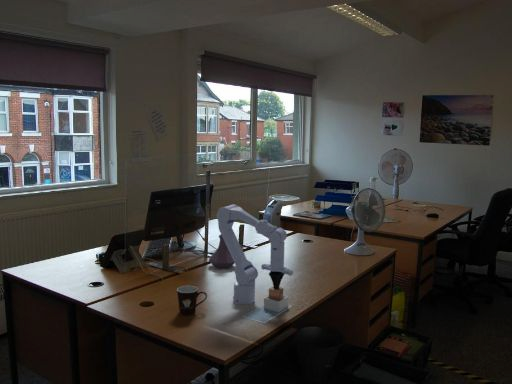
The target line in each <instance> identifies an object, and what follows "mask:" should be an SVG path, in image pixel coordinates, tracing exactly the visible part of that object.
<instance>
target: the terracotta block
mask: <svg viewBox="0 0 512 384" xmlns="http://www.w3.org/2000/svg"><path fill="white" fill-rule="evenodd" d="M283 295H284V287H280V286H279V288H278V289H274V286H271V287H270V288H268V296H269V299H272V300H276V301H280V300H282V299H283Z"/></svg>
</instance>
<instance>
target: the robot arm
mask: <svg viewBox="0 0 512 384" xmlns="http://www.w3.org/2000/svg"><path fill="white" fill-rule="evenodd" d="M215 216H216V220H217V223H218V230H219V233H220V235H222V237H223V239H224V241H225V243H226V246H227V248H228V250H229V252H230V254H231V256H232V258H233V261H234V265H235V266H234V271H233V272H234V274H235V280H236V282H234V283H233V295H232V300H233V304H235V305H239V304H240V305H250V304H253V303H255V300H256V279H257V278H258V275H259V271H258V269H257V268H256V267H255V266H254V265H253V263H252V261H250V260H248V259H247V256H246V255H245V252H244V251H243V247H242V246H241V245H240V242H239V240H238V238H237V235H236V234H235V231H234V229H233V225H234V224H235V223H234V222H236V220H237V221H238V220H240V221H242V222H244V223H245V224H247V225H250V227H251V226H252V227H253V228H254V229H255V231H256V232H257V233H258V234H260V235H262V236H264V237H265V238H266V239H268V241H269V242H270V262H269V263H270V264H266V263H263V264H261V270H266V271H270V272H268V276H269V277H270V280H271V282H272V285H273V286H274V289H278V288H279V287H280V285H281V282H282V279H283V278H284V276H285V275H288V276H290V277H291V276H293V275H294V269H290V268H288V267H286V266H285V243H286V242H285V241H286V239H287V238H288V237H287V236H288V233H287V231H286V230H285V229H284V228H283V227H277V226H276V225H273V224H271V223H269V221H268V220H267V219H260V220H259V219H257V218H256V217H255V216H253V215H252V214H250V213H249V212H247V211H245V209H243V208H242V207H241V206H239V205H237V204H233V203H231V204H230V205H227V206H221V207H219V208H218V209H217V213H216V215H215ZM273 286H272V287H273Z"/></svg>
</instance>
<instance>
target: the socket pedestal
mask: <svg viewBox="0 0 512 384" xmlns="http://www.w3.org/2000/svg"><path fill="white" fill-rule="evenodd" d="M263 305H264V308H265V309H269V310H272V311H276V312H280V311H282V310H283V309H285V308H287V307H288V305H289V296H288V295H284V294H283V299H282V300H280V301H276V300H272V299H269V295H267V296H265V297H263Z"/></svg>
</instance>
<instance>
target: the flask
mask: <svg viewBox="0 0 512 384" xmlns="http://www.w3.org/2000/svg"><path fill="white" fill-rule="evenodd" d="M218 238H219V244H218V248H216V250H215V251H214V252H213V253H212V254H211V255H210V256H209V258H208V262H209V263H210V264H211V265H212V266H213V267H214V268H216V269H218V270H228V269H231V268H232V267H233V266H234V265H235V263H234V261H233V258H232V256H231V254H230V252H229V250H228V248H227V246H226V243H225V241H224V239H223V237H222V235H221V234H219V235H218Z"/></svg>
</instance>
